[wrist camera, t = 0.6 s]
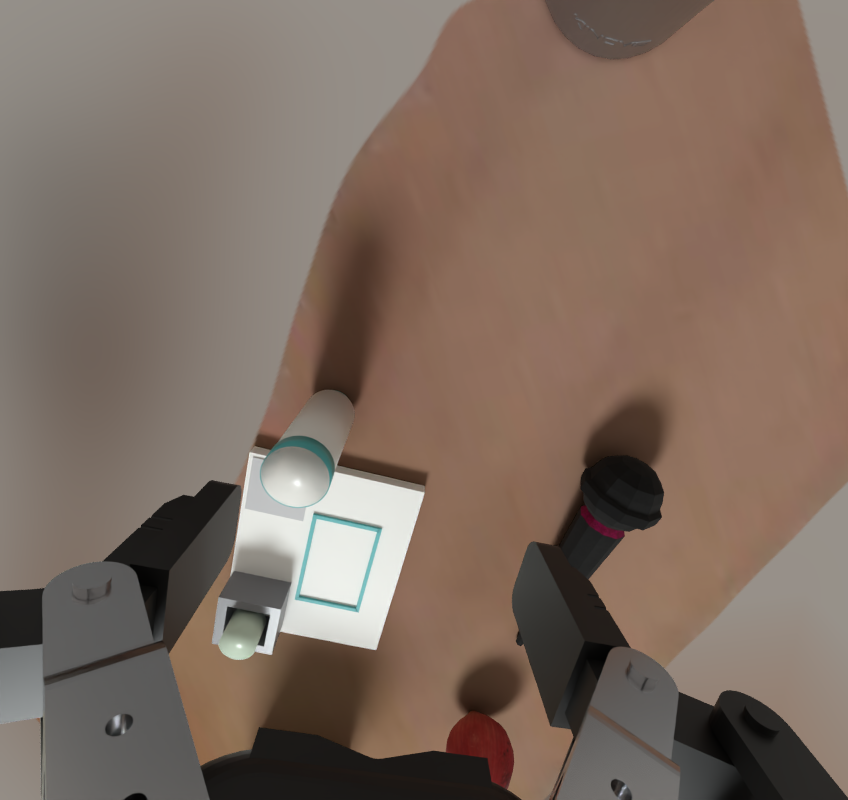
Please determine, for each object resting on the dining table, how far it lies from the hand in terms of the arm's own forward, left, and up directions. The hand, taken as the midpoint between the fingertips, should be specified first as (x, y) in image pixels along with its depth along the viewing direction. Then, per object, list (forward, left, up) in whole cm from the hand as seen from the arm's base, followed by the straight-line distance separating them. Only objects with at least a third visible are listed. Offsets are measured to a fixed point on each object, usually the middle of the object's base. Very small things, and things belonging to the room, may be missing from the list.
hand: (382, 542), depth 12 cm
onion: (+31, +15, -20) cm, 40 cm away
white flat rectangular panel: (+17, -3, -20) cm, 26 cm away
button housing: (+22, -7, -19) cm, 30 cm away
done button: (+22, -7, -17) cm, 28 cm away
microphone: (+11, +16, -20) cm, 28 cm away
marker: (+4, -4, -20) cm, 21 cm away
